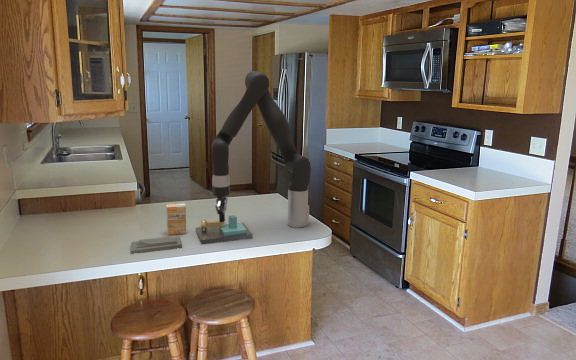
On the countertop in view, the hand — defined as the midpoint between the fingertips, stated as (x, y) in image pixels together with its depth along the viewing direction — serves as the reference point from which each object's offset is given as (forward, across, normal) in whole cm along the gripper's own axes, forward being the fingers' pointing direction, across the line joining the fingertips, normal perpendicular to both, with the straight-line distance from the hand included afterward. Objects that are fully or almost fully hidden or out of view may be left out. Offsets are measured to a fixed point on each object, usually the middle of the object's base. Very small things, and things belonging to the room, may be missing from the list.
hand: (222, 221), depth 209 cm
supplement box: (+5, -4, +20) cm, 21 cm away
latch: (+3, -3, +3) cm, 5 cm away
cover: (+3, -3, -5) cm, 7 cm away
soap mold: (+5, -20, +23) cm, 31 cm away
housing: (+5, -4, -1) cm, 6 cm away
